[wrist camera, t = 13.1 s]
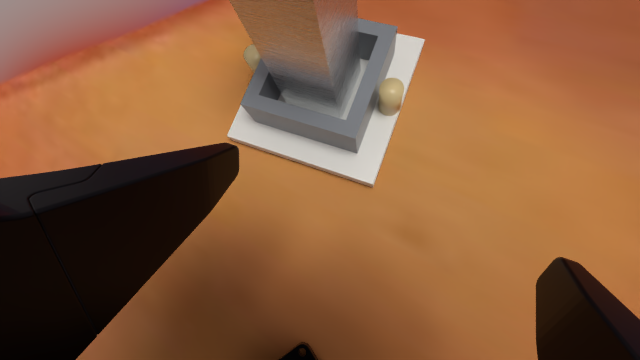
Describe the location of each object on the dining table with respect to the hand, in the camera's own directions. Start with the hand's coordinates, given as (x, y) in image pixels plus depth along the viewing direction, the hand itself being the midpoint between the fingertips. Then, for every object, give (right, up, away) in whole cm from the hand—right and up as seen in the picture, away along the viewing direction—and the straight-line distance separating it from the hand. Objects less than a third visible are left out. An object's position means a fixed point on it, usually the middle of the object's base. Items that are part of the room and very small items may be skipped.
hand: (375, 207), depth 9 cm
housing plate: (-1, +8, +16) cm, 18 cm away
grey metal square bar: (-1, +8, +15) cm, 17 cm away
